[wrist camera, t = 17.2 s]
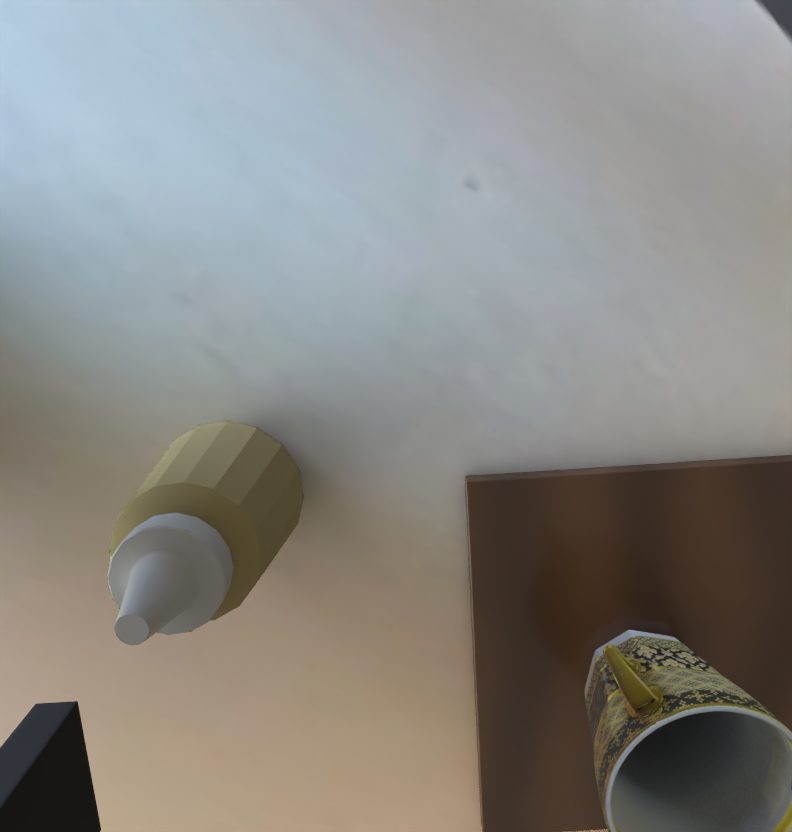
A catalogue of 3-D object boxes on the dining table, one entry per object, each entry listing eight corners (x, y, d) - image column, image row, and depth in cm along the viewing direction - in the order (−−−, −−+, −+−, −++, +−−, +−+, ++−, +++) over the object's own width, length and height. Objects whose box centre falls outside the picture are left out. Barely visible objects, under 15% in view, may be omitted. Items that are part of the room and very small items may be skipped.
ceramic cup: (750, 695, 44) (852, 821, 34) (611, 777, 45) (671, 921, 35) (642, 533, 41) (718, 617, 32) (498, 623, 43) (529, 731, 33)
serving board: (481, 822, 47) (483, 836, 46) (464, 475, 42) (466, 482, 41) (784, 804, 47) (794, 818, 45) (805, 453, 42) (817, 459, 40)
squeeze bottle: (242, 378, 40) (124, 468, 23) (340, 477, 42) (299, 636, 24) (145, 469, 42) (-37, 623, 24) (243, 563, 43) (137, 775, 25)
